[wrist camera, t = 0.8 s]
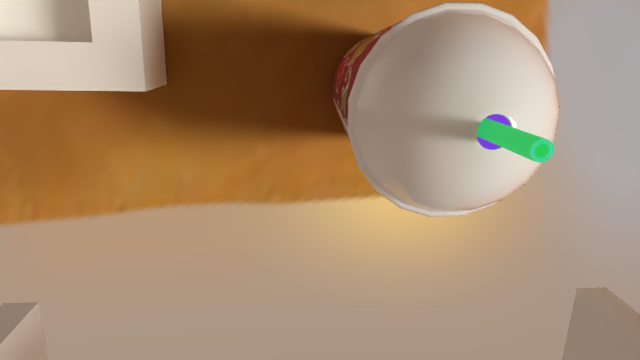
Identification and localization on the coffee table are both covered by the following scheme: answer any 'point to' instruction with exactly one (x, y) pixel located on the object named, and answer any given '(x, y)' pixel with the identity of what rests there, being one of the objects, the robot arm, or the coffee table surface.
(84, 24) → the dish
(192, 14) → the coffee table surface
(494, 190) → the smoothie
